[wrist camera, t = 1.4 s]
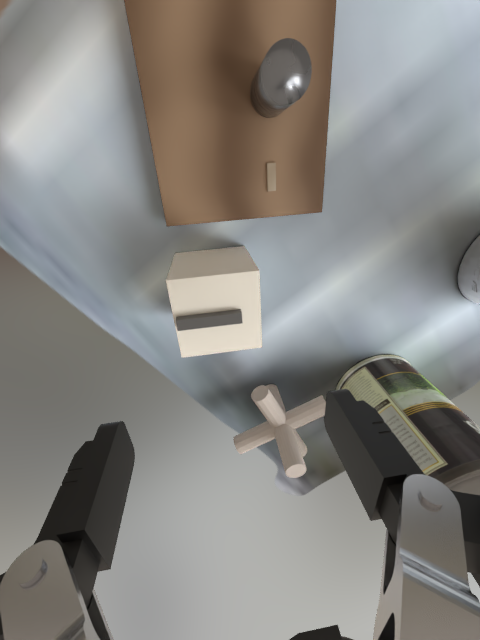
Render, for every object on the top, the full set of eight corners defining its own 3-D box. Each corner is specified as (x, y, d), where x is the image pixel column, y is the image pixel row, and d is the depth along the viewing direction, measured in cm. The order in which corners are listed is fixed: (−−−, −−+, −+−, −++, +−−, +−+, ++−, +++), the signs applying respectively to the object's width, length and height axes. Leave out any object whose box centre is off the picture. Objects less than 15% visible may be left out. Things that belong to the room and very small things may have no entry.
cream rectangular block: (244, 246, 24) (260, 273, 17) (248, 307, 27) (263, 351, 20) (174, 252, 23) (164, 283, 17) (186, 315, 26) (181, 362, 20)
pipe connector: (211, 381, 30) (215, 464, 22) (292, 340, 29) (331, 411, 20) (251, 432, 35) (268, 517, 26) (323, 398, 34) (365, 476, 25)
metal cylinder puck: (290, 65, 17) (313, 36, 14) (289, 116, 18) (310, 102, 15) (248, 67, 17) (261, 39, 13) (251, 119, 18) (262, 105, 15)
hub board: (324, -15, 17) (340, -39, 15) (312, 209, 23) (322, 212, 21) (127, -10, 16) (117, -35, 14) (169, 222, 22) (166, 226, 20)
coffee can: (401, 338, 31) (534, 446, 19) (421, 393, 36) (538, 508, 23) (320, 381, 33) (393, 508, 20) (349, 428, 37) (423, 555, 25)
